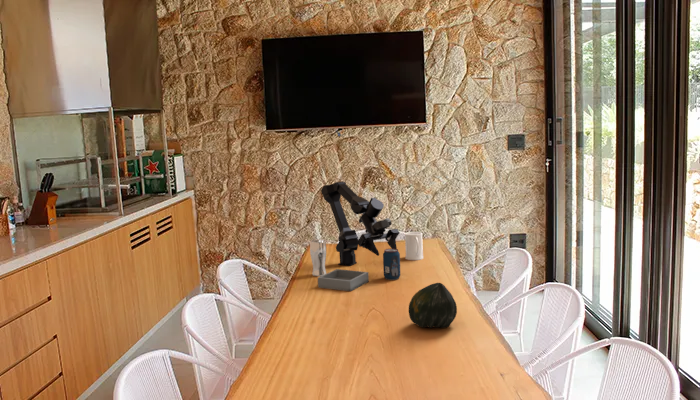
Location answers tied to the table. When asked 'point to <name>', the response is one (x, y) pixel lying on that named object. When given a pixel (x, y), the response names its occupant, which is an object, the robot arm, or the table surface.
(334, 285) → the open box
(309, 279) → the table surface
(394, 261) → the soda can
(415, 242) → the mug
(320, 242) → the beer glass
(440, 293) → the squash
